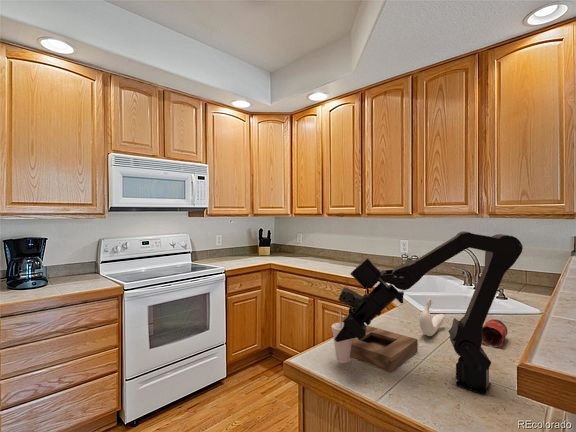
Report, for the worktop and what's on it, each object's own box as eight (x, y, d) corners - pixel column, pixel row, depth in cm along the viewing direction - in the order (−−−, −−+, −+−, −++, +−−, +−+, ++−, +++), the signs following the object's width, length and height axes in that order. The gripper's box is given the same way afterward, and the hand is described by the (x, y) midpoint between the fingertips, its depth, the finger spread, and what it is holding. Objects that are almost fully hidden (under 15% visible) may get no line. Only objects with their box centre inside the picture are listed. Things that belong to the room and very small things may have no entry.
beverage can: (509, 339, 108) (509, 320, 108) (503, 350, 99) (503, 329, 99) (485, 334, 113) (485, 316, 113) (477, 344, 104) (477, 324, 104)
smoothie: (339, 352, 94) (338, 306, 94) (358, 358, 90) (357, 310, 90) (327, 360, 89) (326, 311, 89) (347, 367, 85) (346, 316, 85)
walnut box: (417, 351, 98) (417, 339, 98) (391, 372, 85) (391, 357, 85) (366, 336, 111) (366, 325, 111) (337, 352, 98) (337, 340, 98)
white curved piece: (445, 328, 118) (444, 290, 118) (431, 344, 104) (431, 300, 104) (431, 325, 121) (431, 288, 122) (416, 341, 107) (416, 298, 107)
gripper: (359, 273, 97) (325, 306, 101) (350, 286, 79) (310, 325, 83) (386, 300, 94) (350, 333, 98) (383, 319, 77) (340, 358, 80)
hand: (337, 336), depth 90 cm, fingers closed on smoothie, 6 cm apart
